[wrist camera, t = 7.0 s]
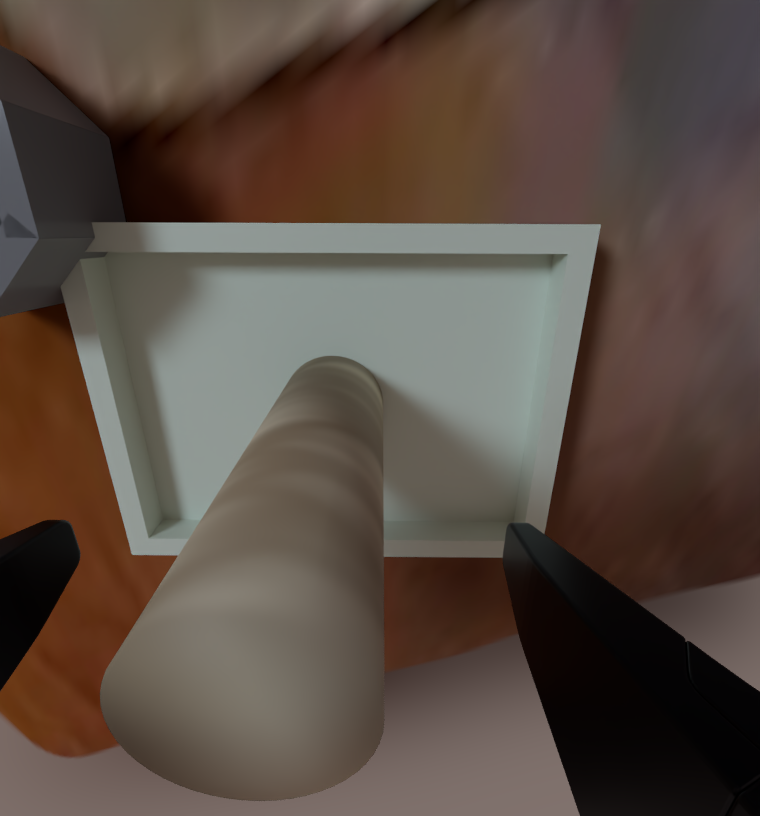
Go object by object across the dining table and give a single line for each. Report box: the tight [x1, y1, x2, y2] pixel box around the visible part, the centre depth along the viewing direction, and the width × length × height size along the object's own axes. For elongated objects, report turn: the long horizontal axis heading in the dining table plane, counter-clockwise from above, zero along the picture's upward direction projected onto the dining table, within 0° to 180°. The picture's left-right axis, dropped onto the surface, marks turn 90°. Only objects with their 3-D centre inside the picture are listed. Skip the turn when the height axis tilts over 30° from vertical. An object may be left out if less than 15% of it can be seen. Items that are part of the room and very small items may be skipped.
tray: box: [61, 222, 601, 558], centre depth 15 cm, size 16×12×2 cm
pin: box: [100, 356, 384, 801], centre depth 11 cm, size 4×4×11 cm
